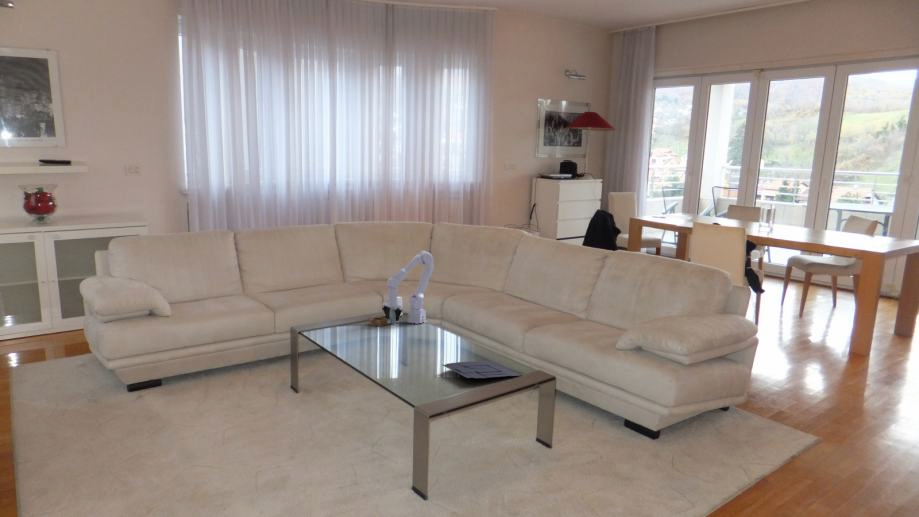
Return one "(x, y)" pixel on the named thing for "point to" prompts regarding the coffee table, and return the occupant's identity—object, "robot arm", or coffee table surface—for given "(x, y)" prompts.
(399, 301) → the supplement box
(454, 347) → the coffee table surface
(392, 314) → the dowel
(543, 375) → the coffee table surface
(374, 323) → the brown square frame
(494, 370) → the grey flat block
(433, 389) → the coffee table surface
